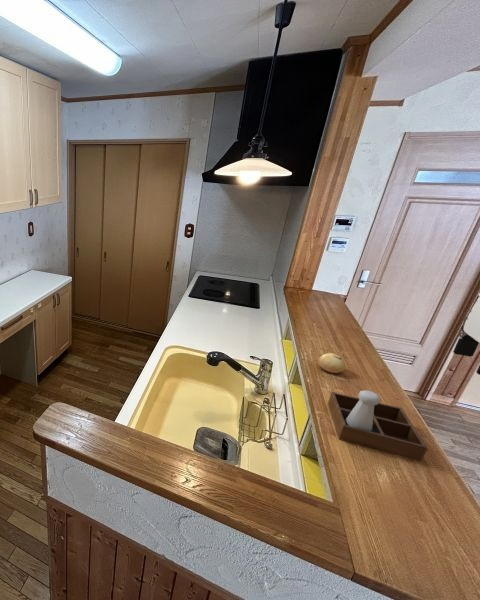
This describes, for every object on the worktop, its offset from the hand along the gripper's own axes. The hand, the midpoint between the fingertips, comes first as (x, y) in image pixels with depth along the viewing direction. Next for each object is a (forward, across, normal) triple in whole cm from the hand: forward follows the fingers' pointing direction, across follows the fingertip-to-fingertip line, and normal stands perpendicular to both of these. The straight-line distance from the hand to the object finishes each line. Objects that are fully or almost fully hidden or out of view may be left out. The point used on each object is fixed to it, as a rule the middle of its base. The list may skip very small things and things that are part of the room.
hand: (473, 364), depth 73 cm
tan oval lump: (+28, +40, +14) cm, 51 cm away
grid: (+28, +7, +10) cm, 31 cm away
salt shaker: (+28, +3, +14) cm, 31 cm away
